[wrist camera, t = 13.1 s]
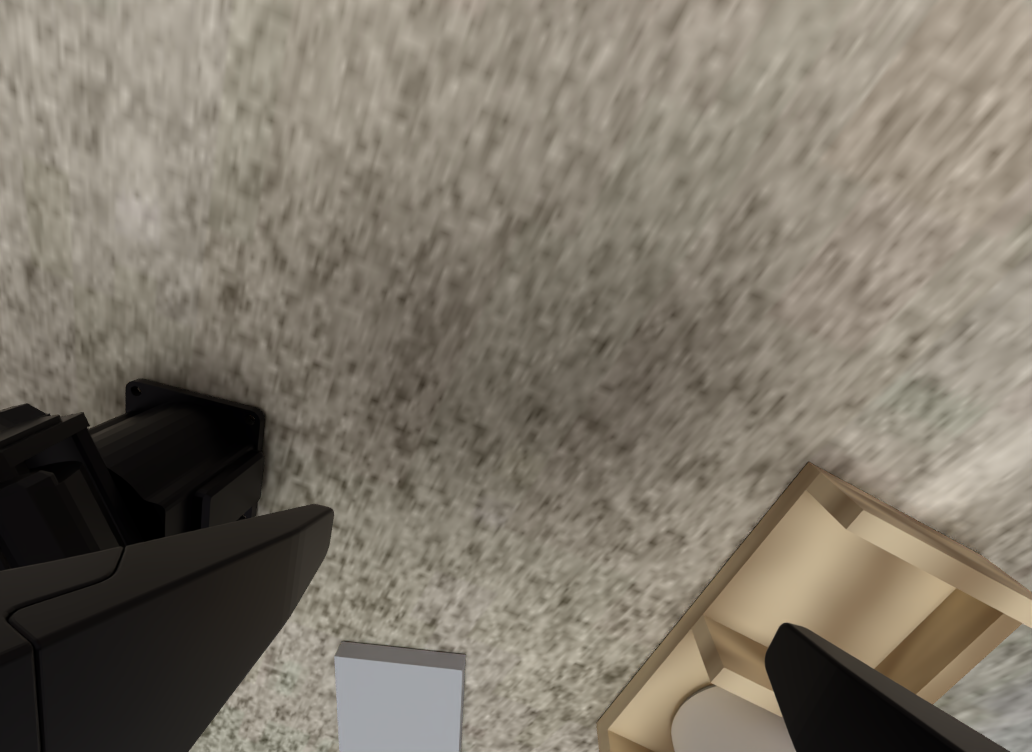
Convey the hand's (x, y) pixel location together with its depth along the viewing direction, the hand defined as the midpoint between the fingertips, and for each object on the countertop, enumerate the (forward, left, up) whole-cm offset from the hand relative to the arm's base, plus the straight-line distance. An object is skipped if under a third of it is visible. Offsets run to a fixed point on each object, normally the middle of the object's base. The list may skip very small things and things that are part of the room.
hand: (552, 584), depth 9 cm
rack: (+15, -11, -13) cm, 23 cm away
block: (-3, -22, -13) cm, 26 cm away
